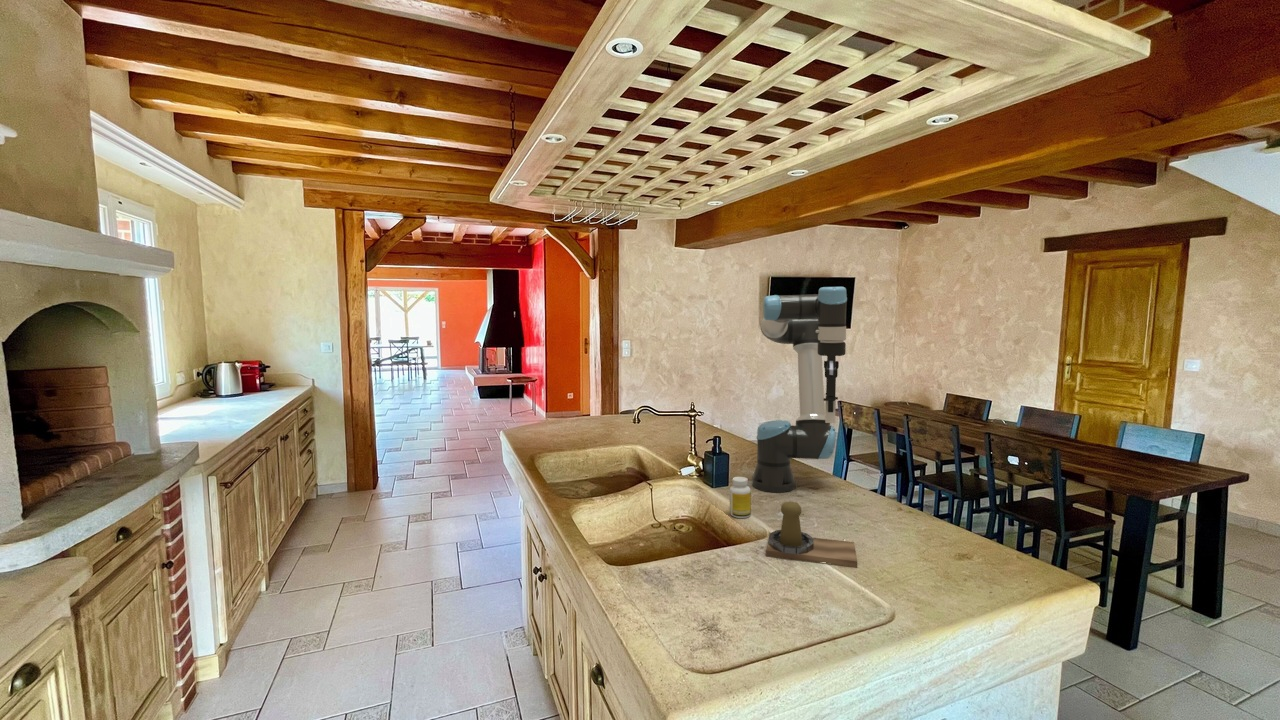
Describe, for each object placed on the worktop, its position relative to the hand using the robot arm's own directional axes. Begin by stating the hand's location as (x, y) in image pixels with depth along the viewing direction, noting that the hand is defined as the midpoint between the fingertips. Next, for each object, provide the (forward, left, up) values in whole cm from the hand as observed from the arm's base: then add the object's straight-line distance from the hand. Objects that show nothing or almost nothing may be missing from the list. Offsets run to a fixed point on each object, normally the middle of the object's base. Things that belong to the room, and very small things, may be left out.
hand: (830, 422), depth 150 cm
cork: (+19, -10, -29) cm, 36 cm away
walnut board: (+19, -5, -31) cm, 37 cm away
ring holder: (+19, -10, -29) cm, 36 cm away
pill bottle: (-1, -26, -31) cm, 41 cm away
